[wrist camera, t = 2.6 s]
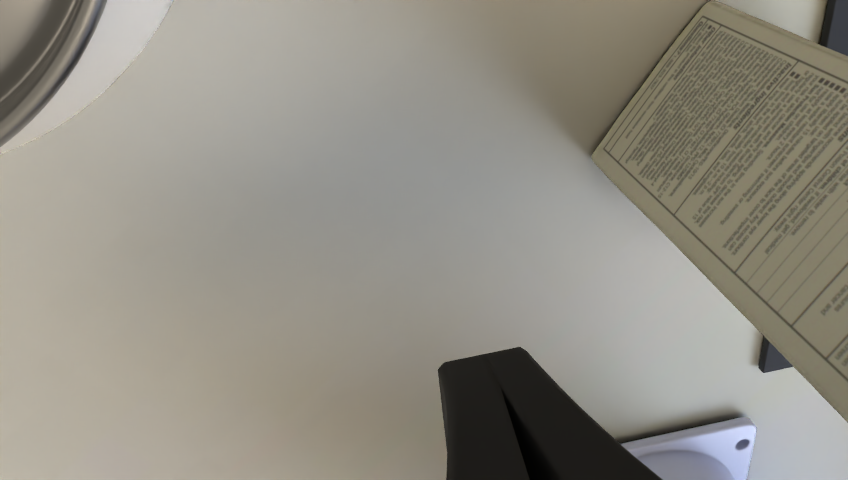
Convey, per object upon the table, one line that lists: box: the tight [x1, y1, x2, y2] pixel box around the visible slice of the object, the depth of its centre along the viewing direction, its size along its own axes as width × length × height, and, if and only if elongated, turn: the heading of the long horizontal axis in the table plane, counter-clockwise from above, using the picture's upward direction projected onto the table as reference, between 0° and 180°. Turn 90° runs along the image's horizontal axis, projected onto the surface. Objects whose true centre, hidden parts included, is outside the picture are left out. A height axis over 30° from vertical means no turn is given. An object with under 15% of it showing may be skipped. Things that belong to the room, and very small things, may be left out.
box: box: [592, 1, 848, 422], centre depth 16 cm, size 5×4×11 cm
